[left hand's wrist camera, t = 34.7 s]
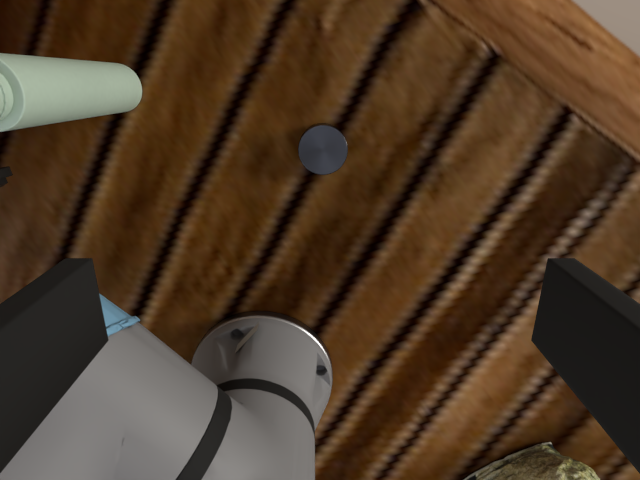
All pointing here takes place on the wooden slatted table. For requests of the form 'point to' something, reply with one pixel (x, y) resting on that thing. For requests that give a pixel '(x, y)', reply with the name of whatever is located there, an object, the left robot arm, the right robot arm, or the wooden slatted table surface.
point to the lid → (322, 149)
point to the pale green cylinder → (62, 90)
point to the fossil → (535, 466)
